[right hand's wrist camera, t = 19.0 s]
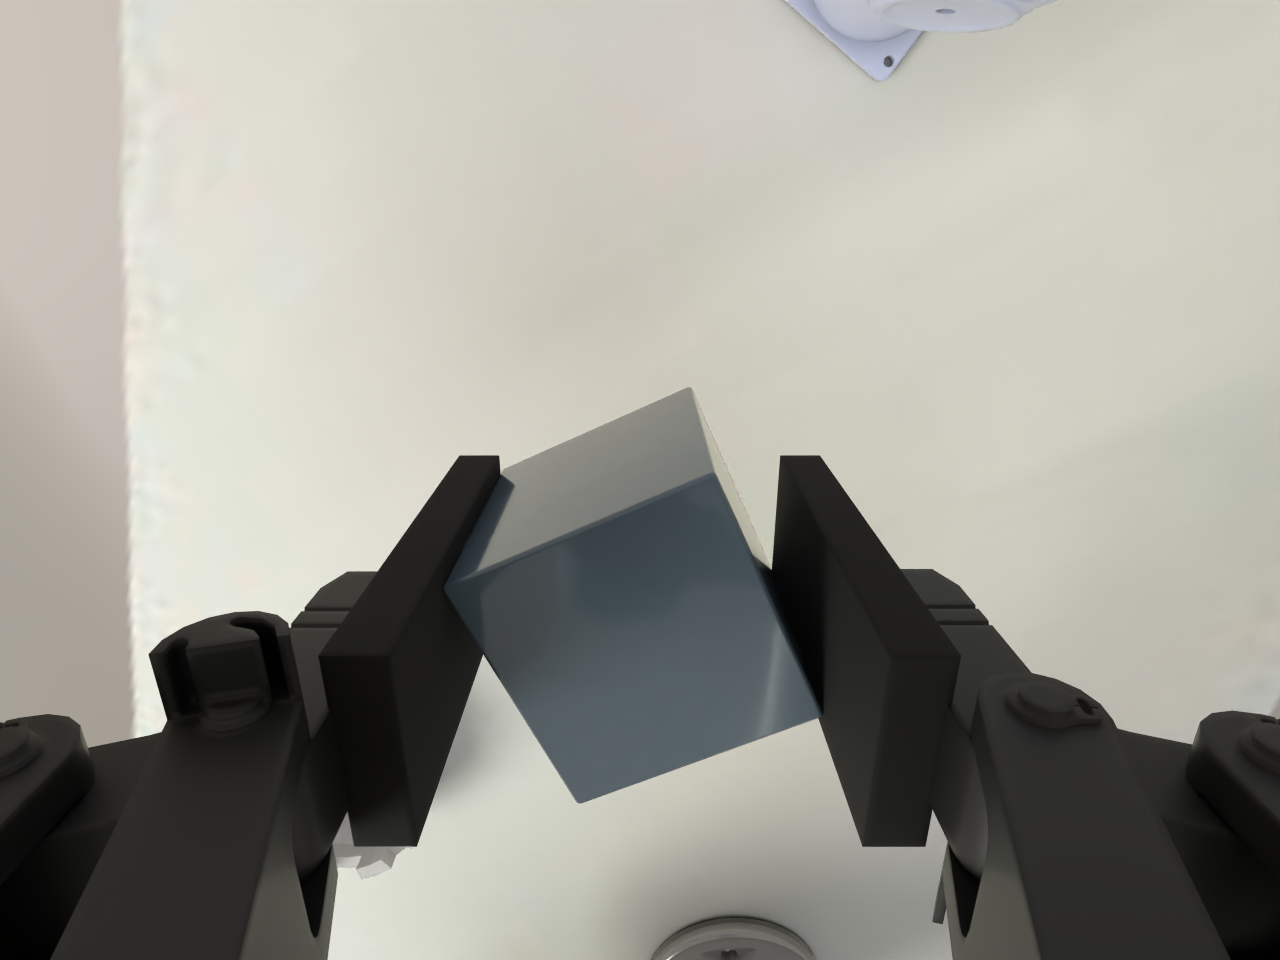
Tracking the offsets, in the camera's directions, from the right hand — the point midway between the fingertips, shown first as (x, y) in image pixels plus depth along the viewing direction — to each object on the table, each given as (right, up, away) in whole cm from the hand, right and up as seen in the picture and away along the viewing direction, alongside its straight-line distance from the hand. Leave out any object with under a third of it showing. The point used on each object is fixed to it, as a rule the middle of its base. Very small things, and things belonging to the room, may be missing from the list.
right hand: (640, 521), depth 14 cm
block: (0, 0, 0) cm, 0 cm away
